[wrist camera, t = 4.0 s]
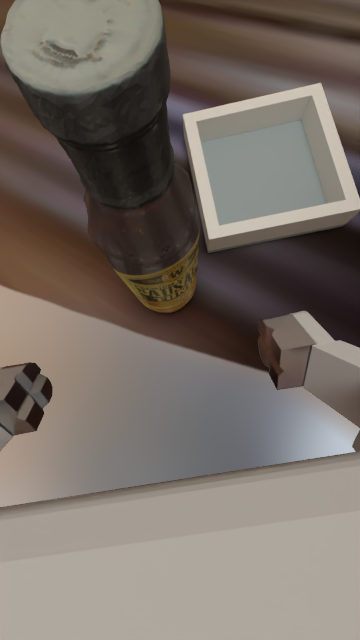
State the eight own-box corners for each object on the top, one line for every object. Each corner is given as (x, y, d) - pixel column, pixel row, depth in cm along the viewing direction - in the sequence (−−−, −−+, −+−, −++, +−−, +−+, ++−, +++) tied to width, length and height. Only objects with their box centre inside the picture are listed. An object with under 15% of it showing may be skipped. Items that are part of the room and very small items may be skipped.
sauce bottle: (158, 326, 24) (-6, 210, 5) (128, 279, 25) (-108, 24, 6) (210, 292, 24) (260, 41, 5) (178, 247, 26) (113, -111, 6)
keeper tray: (307, 112, 27) (320, 82, 24) (342, 226, 24) (362, 208, 21) (184, 140, 27) (182, 114, 24) (207, 253, 25) (208, 239, 22)
